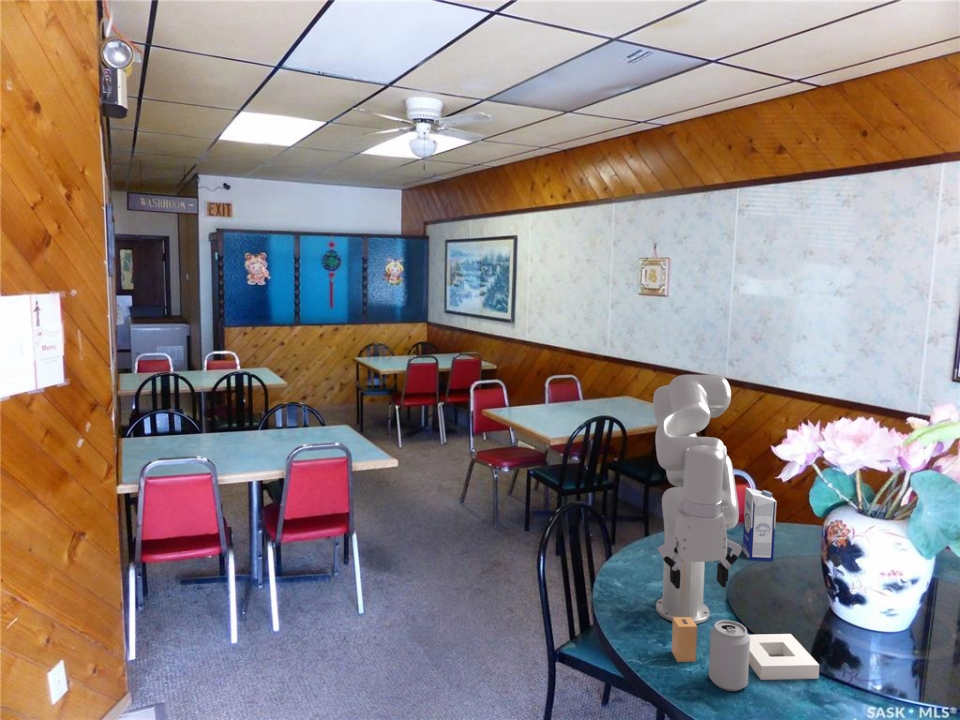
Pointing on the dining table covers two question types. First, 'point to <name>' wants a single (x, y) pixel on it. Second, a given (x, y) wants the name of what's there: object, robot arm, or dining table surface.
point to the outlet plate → (781, 658)
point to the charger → (684, 639)
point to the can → (729, 655)
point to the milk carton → (759, 525)
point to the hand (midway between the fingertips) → (698, 585)
